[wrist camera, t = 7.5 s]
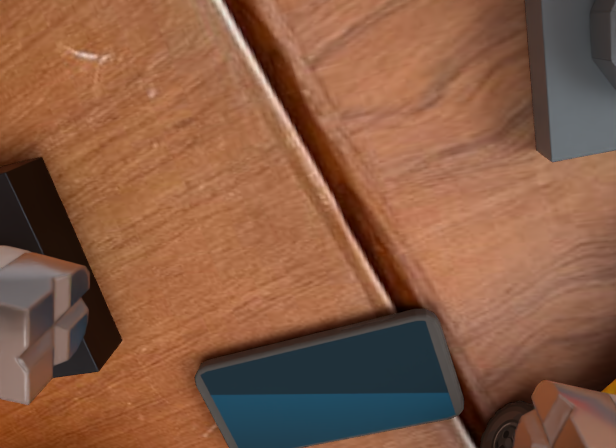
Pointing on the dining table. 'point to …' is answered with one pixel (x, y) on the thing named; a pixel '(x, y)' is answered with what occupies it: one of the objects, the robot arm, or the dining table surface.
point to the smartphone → (334, 384)
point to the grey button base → (573, 76)
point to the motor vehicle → (512, 422)
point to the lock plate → (54, 253)
